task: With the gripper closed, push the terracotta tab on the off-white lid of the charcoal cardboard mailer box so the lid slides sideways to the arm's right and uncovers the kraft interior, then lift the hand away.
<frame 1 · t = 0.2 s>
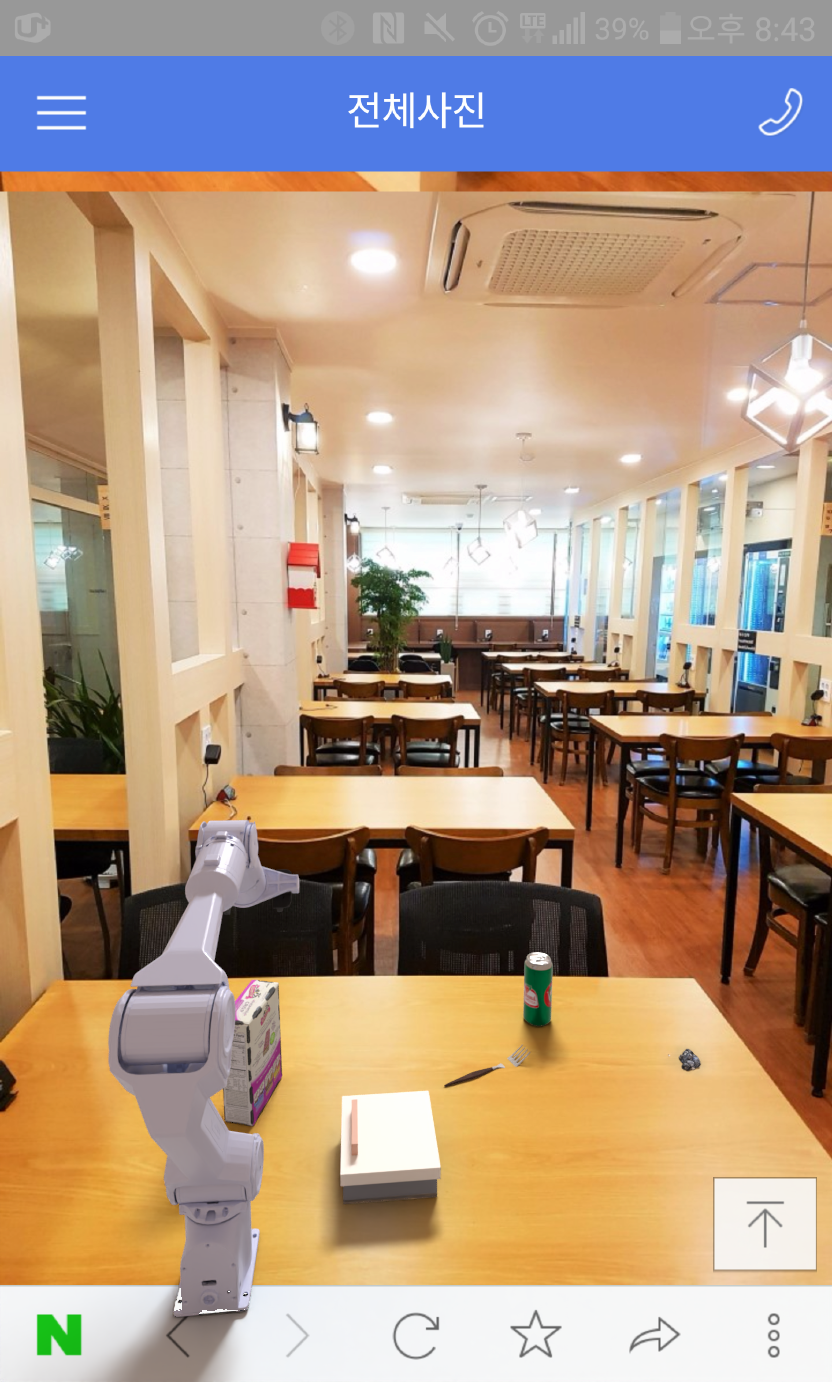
hand: (254, 906, 102), 31 cm above the table, tool tilted 45°, fingers open, 7 cm apart
candy bar box: (253, 1100, 105), on the table
blueberries: (685, 1062, 115), on the table
soda can: (537, 1020, 125), on the table
lid: (388, 1129, 92), point 5 cm above the table, slide at 0.0 cm
fork: (486, 1074, 111), on the table
mailer tray: (388, 1162, 93), on the table
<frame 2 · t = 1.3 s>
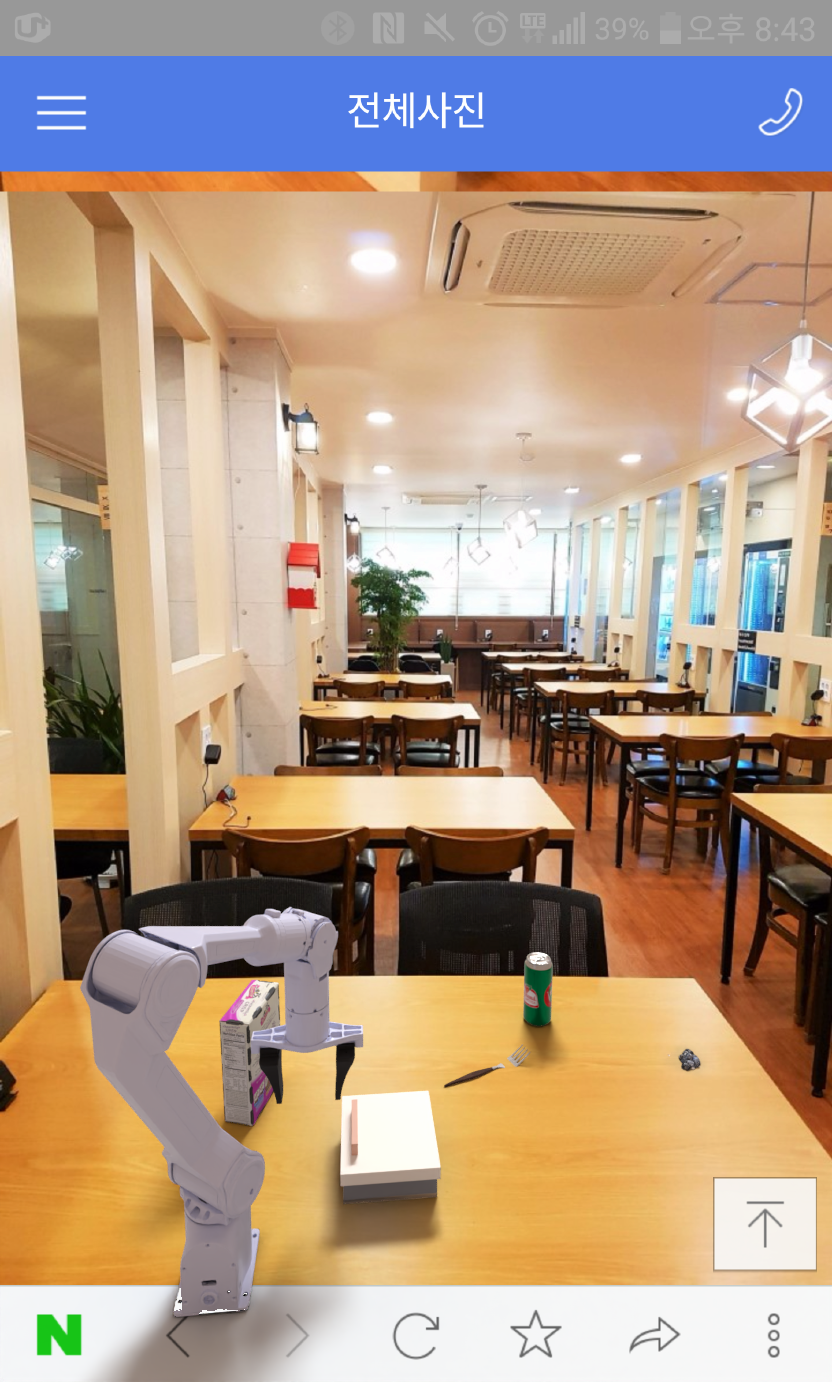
hand: (309, 1096, 91), 10 cm above the table, tool pointing down, fingers open, 7 cm apart
nothing on the table moved.
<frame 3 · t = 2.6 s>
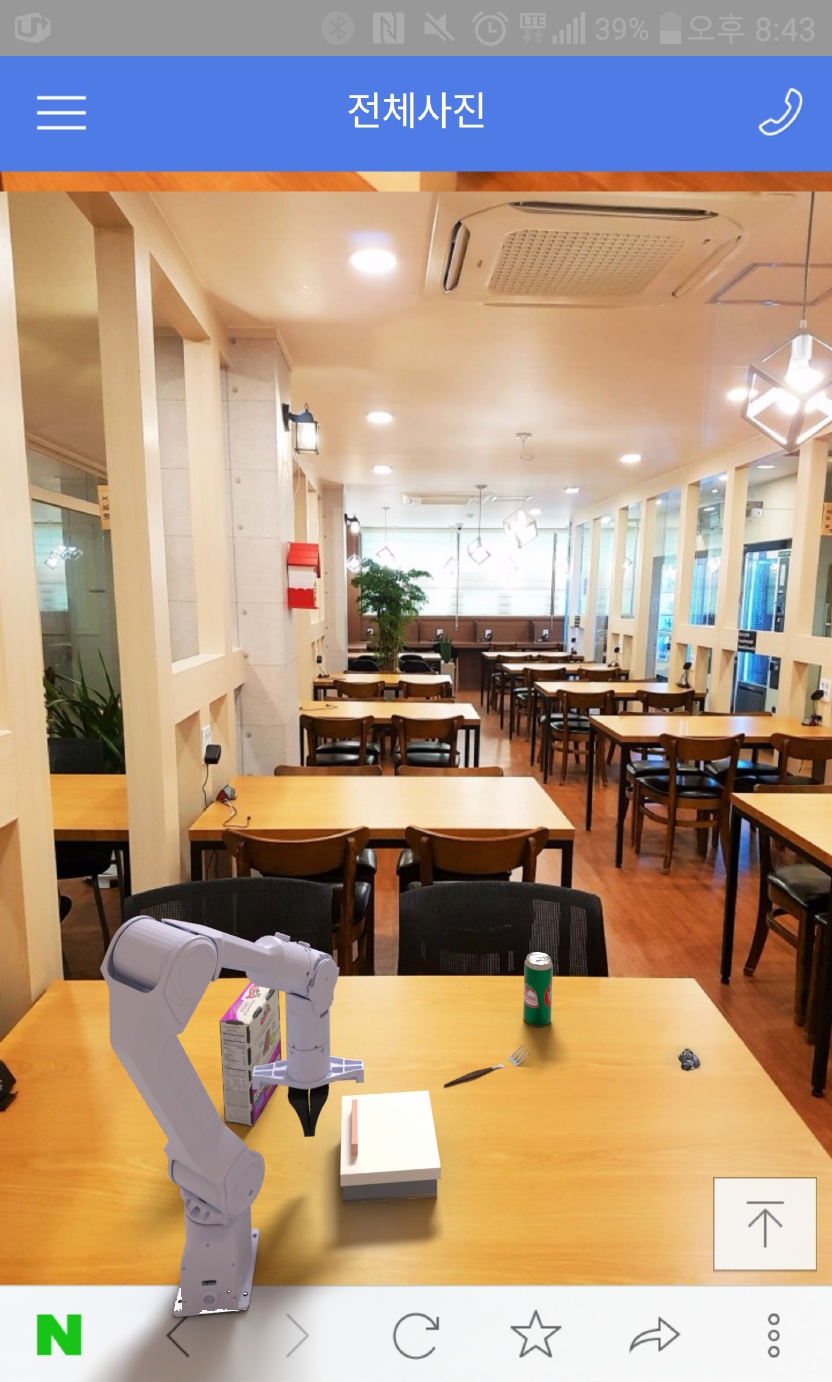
hand: (309, 1131, 91), 6 cm above the table, tool pointing down, fingers closed
nothing on the table moved.
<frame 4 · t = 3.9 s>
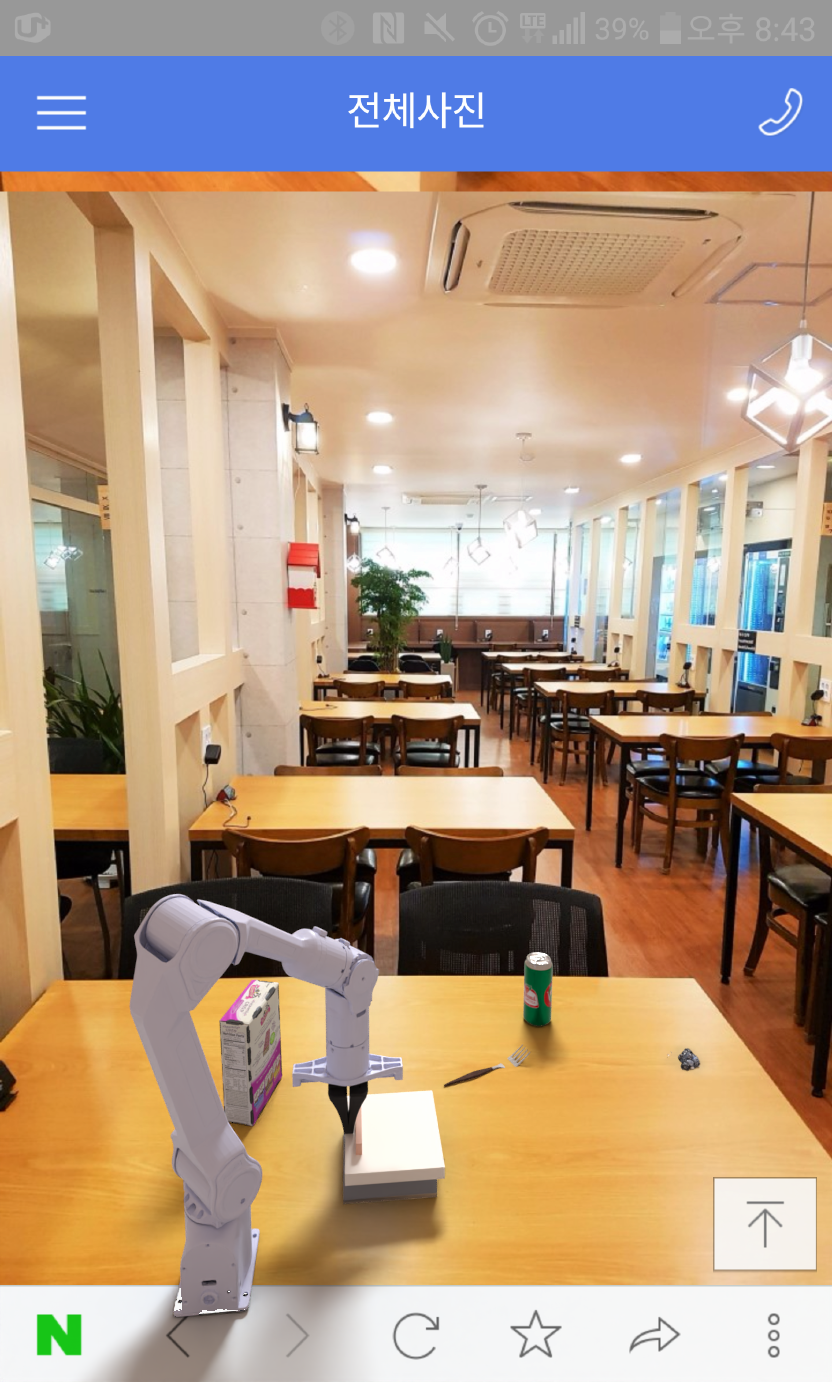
hand: (348, 1128, 92), 6 cm above the table, tool pointing down, fingers closed
lid: (391, 1129, 92), point 5 cm above the table, slide at 0.5 cm, touching gripper
everything else where it was.
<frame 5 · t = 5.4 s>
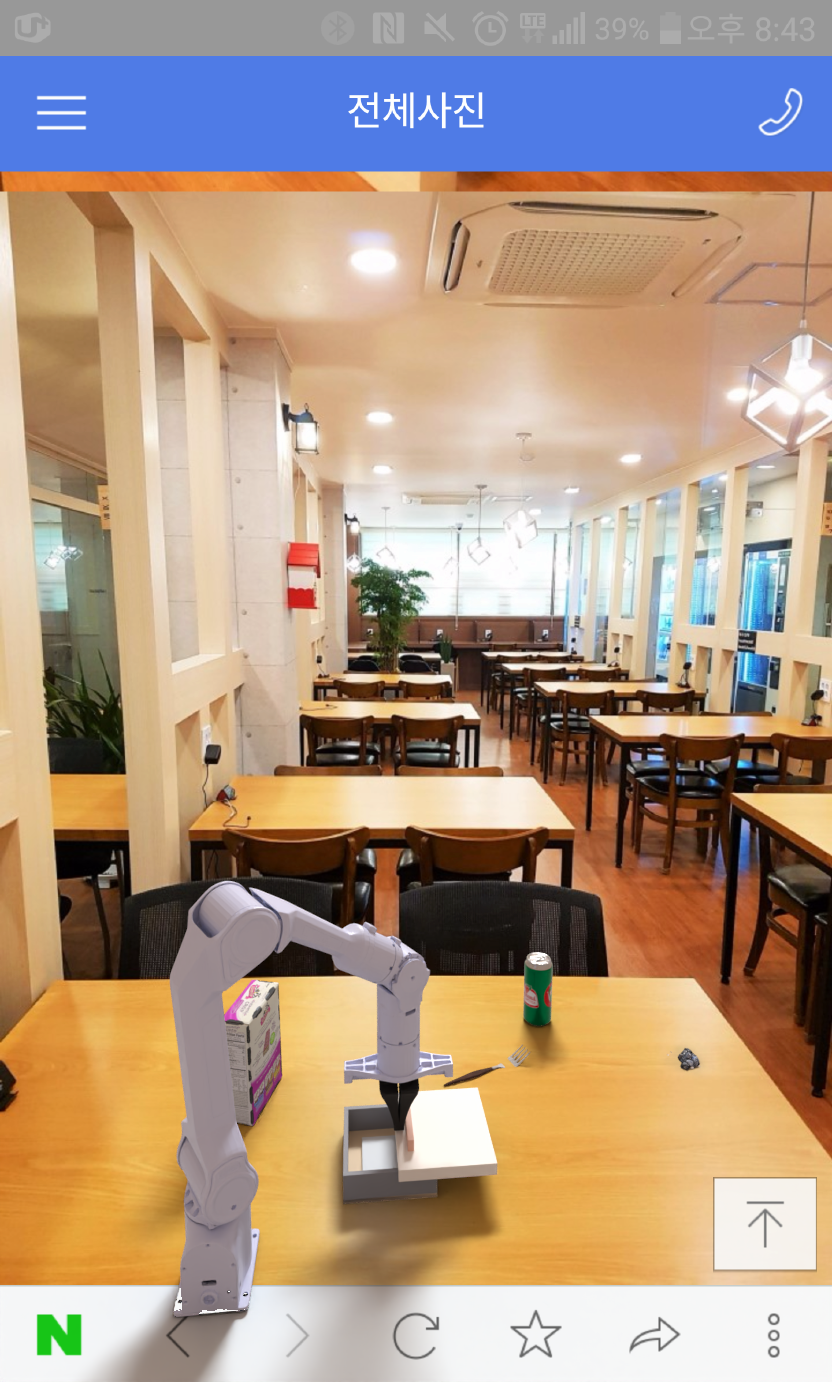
hand: (398, 1125, 92), 6 cm above the table, tool pointing down, fingers closed
lid: (441, 1125, 93), point 5 cm above the table, slide at 7.3 cm, touching gripper
everything else where it was.
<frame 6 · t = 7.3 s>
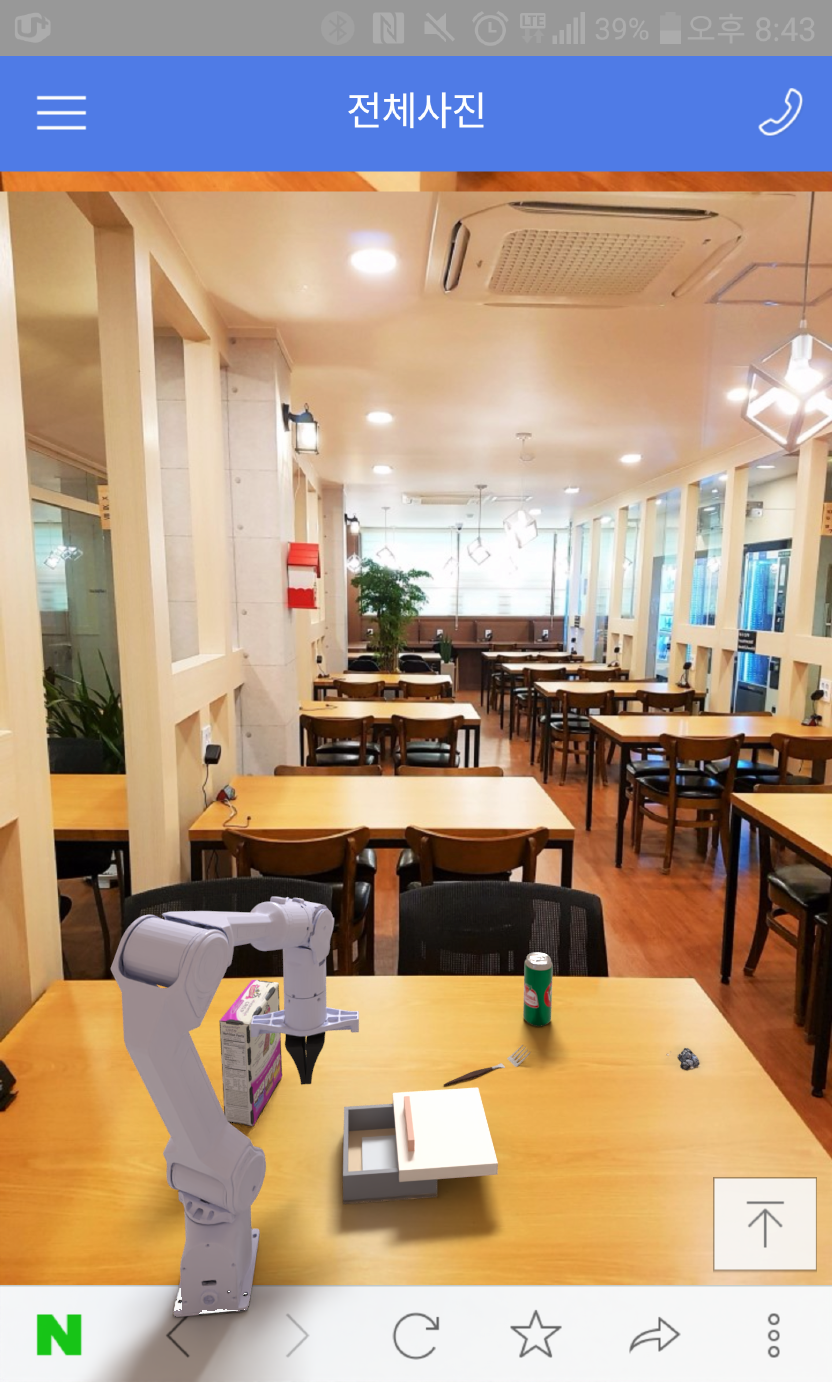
hand: (306, 1079, 94), 10 cm above the table, tool pointing down, fingers closed
lid: (441, 1125, 93), point 5 cm above the table, slide at 7.4 cm
everything else where it was.
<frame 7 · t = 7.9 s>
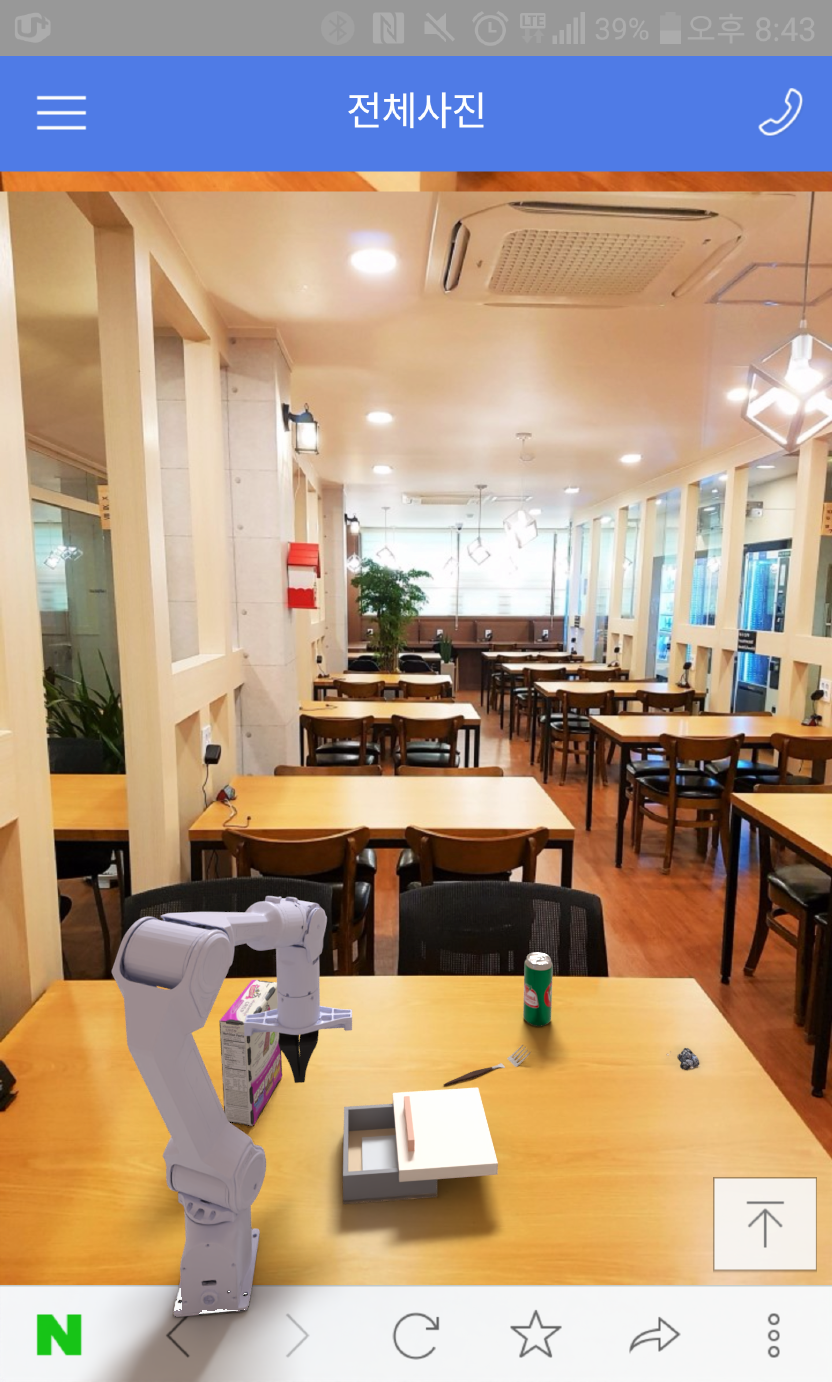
hand: (300, 1077, 95), 10 cm above the table, tool pointing down, fingers closed
nothing on the table moved.
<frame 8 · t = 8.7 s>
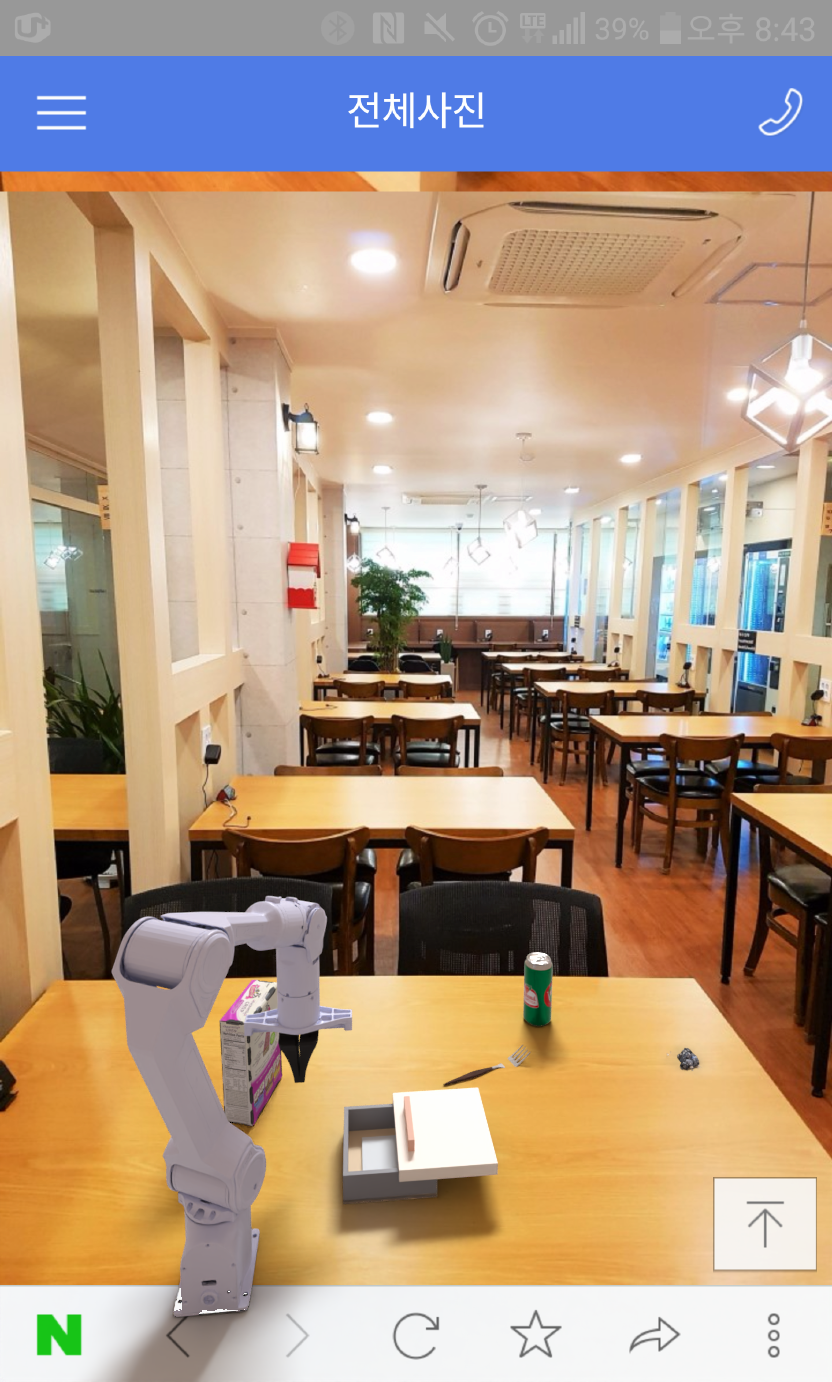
hand: (300, 1077, 95), 10 cm above the table, tool pointing down, fingers closed
nothing on the table moved.
at the end: lid slide at 7.4 cm; lid touching nothing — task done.
